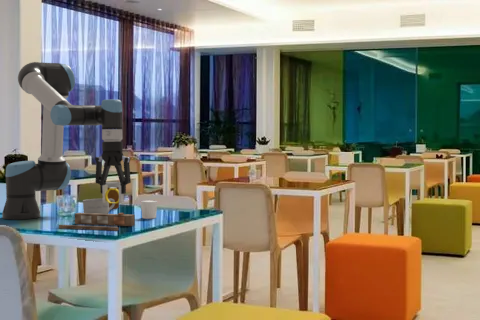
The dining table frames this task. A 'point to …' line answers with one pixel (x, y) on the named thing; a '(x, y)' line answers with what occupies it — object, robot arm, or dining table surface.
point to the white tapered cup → (149, 209)
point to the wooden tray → (101, 221)
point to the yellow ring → (107, 194)
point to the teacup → (97, 206)
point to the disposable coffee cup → (113, 193)
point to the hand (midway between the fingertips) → (113, 202)
